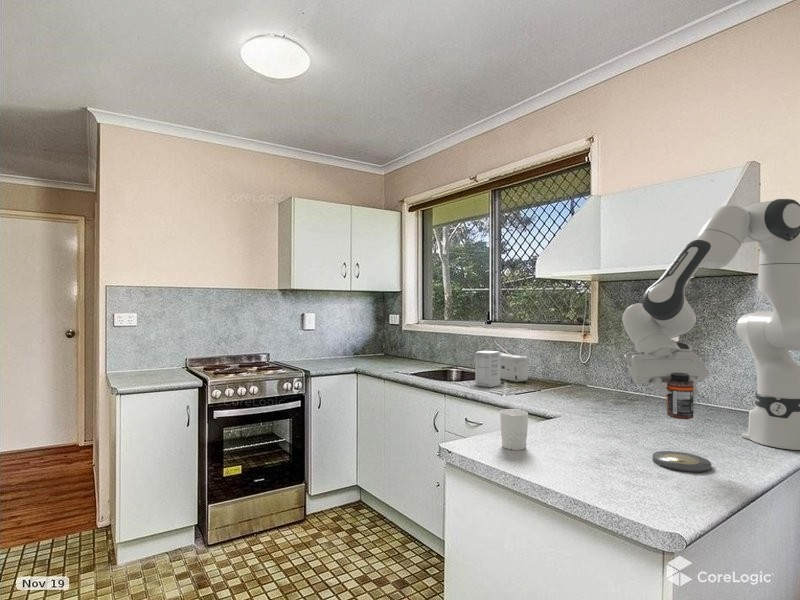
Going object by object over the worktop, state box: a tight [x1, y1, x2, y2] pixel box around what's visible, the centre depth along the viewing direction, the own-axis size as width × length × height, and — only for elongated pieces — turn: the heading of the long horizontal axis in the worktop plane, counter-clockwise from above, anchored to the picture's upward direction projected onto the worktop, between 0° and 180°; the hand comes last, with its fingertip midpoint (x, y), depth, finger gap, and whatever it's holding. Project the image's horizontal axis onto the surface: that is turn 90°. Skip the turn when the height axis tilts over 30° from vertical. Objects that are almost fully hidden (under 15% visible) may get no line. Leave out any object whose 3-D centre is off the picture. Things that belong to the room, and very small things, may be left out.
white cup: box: [499, 408, 529, 451], centre depth 136 cm, size 8×8×10 cm
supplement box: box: [474, 350, 502, 388], centre depth 235 cm, size 10×9×17 cm
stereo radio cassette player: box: [493, 340, 529, 383], centre depth 253 cm, size 21×8×20 cm, turn 30°
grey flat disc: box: [652, 450, 712, 474], centre depth 121 cm, size 13×13×1 cm
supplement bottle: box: [666, 373, 695, 420], centre depth 122 cm, size 6×6×11 cm
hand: (681, 394), depth 121 cm, fingers closed on supplement bottle, 6 cm apart
